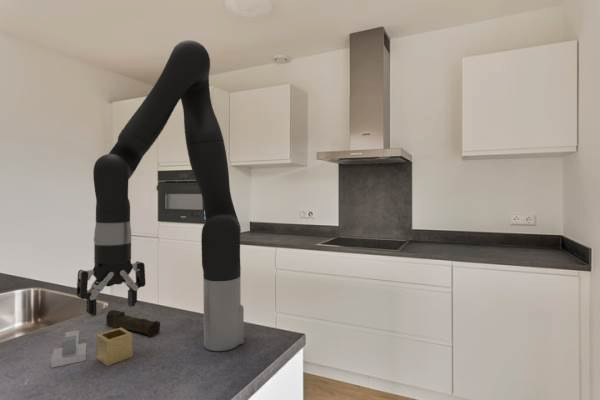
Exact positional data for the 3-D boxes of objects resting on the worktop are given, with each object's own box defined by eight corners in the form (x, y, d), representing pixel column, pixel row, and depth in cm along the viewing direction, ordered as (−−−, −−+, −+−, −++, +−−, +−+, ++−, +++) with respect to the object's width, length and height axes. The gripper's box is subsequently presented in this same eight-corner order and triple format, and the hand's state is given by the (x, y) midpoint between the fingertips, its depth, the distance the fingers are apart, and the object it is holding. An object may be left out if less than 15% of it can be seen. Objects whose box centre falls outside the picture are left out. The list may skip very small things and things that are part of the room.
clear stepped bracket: (86, 333, 93) (86, 316, 93) (85, 360, 79) (85, 340, 78) (58, 338, 90) (57, 321, 90) (51, 367, 75) (50, 347, 75)
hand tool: (161, 333, 94) (161, 316, 94) (149, 339, 90) (149, 321, 90) (115, 321, 102) (115, 306, 102) (103, 326, 99) (102, 310, 99)
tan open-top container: (121, 349, 84) (121, 327, 84) (132, 356, 80) (132, 333, 80) (96, 358, 80) (96, 334, 79) (107, 366, 76) (106, 341, 76)
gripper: (85, 246, 71) (85, 323, 72) (151, 239, 82) (150, 306, 83) (72, 242, 76) (72, 314, 77) (136, 236, 87) (135, 299, 88)
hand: (112, 310), depth 80 cm, fingers open, 8 cm apart
